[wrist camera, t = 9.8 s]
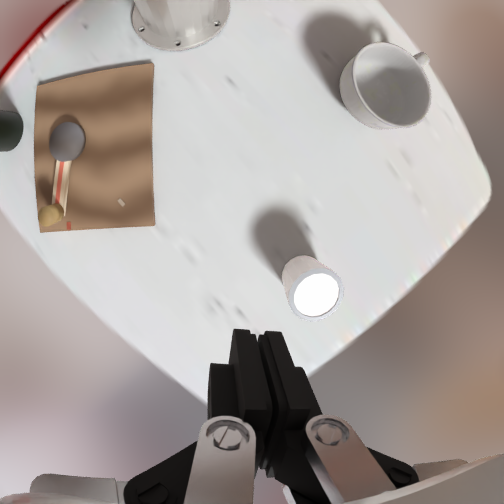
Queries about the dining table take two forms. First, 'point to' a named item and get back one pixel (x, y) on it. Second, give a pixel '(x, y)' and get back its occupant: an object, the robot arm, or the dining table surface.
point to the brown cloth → (100, 148)
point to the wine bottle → (10, 130)
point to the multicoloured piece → (62, 168)
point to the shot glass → (311, 288)
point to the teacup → (386, 86)
